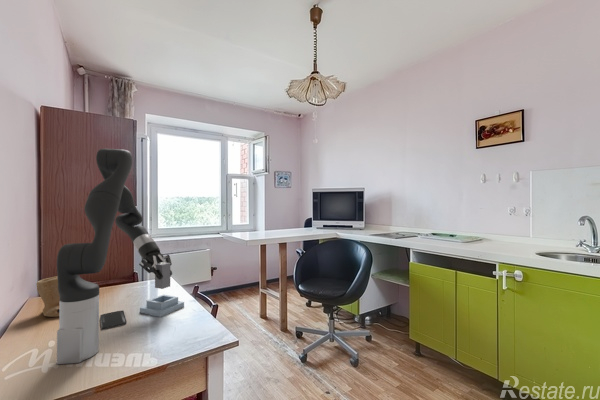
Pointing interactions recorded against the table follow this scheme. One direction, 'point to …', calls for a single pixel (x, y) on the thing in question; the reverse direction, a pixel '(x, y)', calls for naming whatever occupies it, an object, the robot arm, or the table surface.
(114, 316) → the phone
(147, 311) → the outlet box
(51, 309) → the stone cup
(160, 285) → the block
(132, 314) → the table surface
